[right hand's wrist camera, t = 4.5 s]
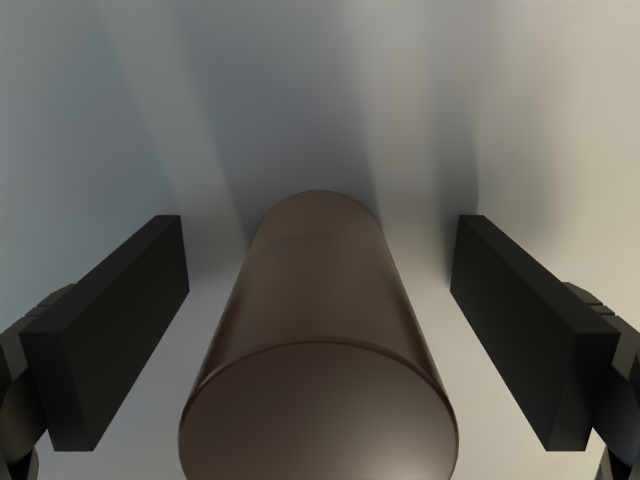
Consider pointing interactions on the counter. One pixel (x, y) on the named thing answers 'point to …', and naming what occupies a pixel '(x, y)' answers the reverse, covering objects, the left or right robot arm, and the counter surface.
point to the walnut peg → (318, 361)
